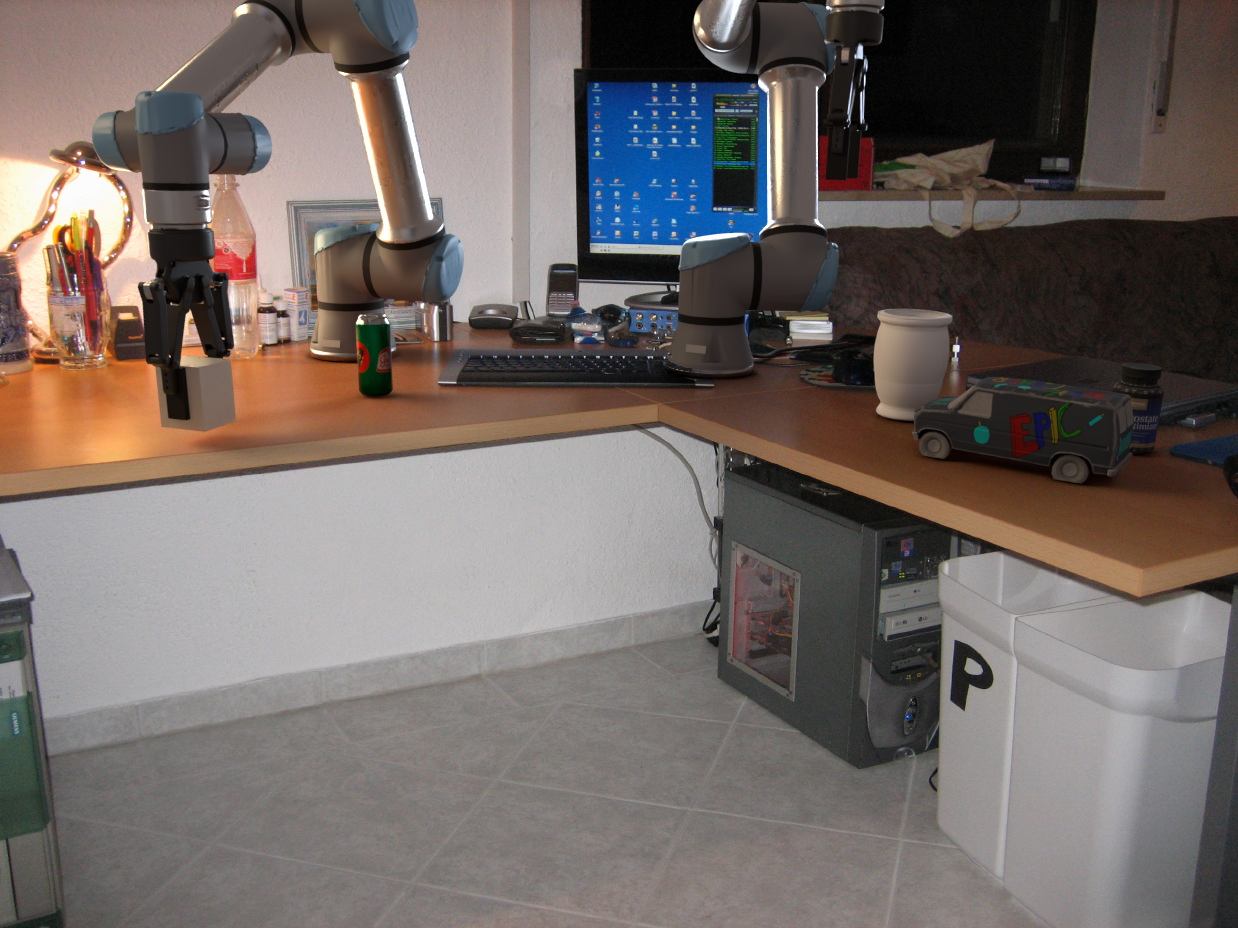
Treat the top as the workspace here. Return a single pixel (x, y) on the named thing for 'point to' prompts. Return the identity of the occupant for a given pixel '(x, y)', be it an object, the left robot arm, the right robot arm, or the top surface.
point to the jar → (910, 360)
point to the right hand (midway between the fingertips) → (842, 179)
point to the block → (203, 394)
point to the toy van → (1032, 426)
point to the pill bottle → (1142, 402)
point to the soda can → (374, 355)
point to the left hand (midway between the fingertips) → (197, 412)
